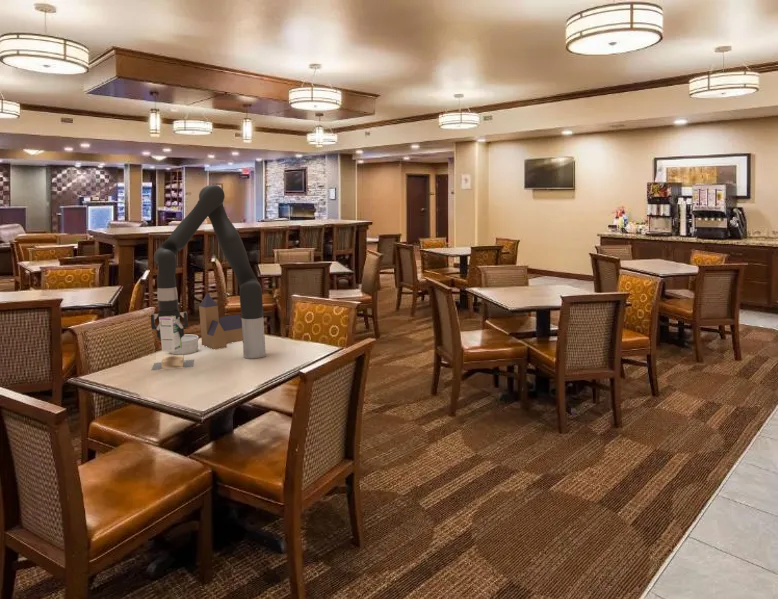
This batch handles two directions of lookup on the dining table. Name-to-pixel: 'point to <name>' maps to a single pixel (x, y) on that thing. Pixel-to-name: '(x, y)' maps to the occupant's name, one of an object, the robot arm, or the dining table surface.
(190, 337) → the ramekin
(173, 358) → the maple slab
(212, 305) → the toy church
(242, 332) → the robot arm
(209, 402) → the dining table surface
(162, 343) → the syrup box
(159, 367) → the build mat
